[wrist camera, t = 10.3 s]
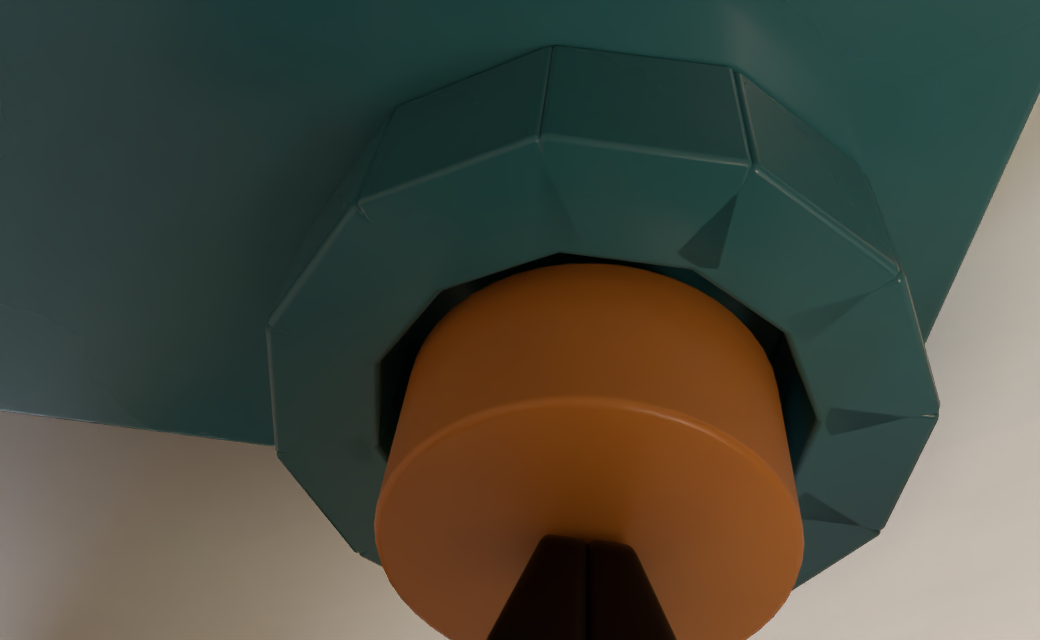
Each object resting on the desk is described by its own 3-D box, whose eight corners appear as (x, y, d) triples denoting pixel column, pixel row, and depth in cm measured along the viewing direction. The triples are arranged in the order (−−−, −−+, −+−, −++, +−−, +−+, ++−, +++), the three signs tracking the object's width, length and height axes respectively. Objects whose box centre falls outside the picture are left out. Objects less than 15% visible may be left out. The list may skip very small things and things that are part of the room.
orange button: (730, 549, 12) (747, 703, 10) (405, 507, 12) (371, 654, 10) (824, 286, 10) (864, 435, 8) (415, 234, 10) (372, 371, 8)
